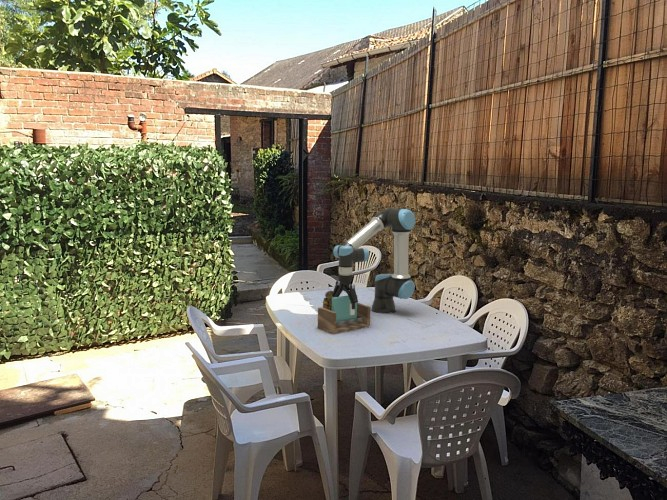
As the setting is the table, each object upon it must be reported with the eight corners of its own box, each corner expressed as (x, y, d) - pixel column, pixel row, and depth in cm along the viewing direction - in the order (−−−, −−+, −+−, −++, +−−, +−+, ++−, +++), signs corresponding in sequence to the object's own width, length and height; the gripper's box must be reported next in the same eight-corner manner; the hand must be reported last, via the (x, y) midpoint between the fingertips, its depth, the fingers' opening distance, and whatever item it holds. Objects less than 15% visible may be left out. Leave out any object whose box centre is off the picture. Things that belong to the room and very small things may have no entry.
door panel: (353, 322, 302) (354, 294, 300) (356, 323, 301) (357, 295, 298) (331, 326, 293) (331, 297, 291) (333, 327, 291) (334, 298, 289)
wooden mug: (322, 321, 309) (322, 290, 307) (320, 315, 323) (320, 285, 320) (337, 320, 310) (338, 290, 308) (334, 314, 324) (335, 285, 321)
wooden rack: (354, 321, 310) (354, 301, 309) (370, 326, 299) (370, 306, 298) (317, 328, 295) (317, 307, 293) (332, 334, 284) (333, 313, 282)
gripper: (326, 271, 300) (325, 308, 303) (354, 278, 281) (353, 318, 284) (336, 270, 305) (336, 306, 308) (365, 277, 285) (364, 316, 288)
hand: (344, 312), depth 296 cm, fingers open, 13 cm apart
